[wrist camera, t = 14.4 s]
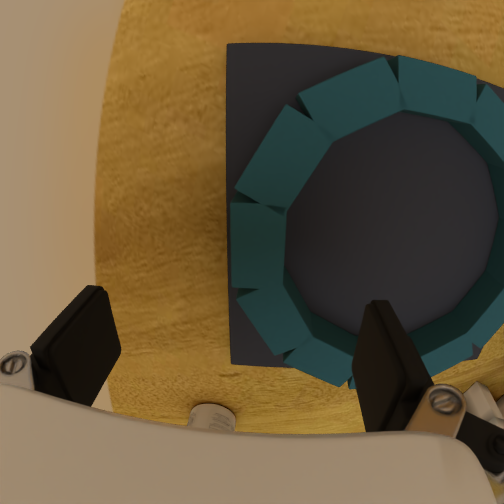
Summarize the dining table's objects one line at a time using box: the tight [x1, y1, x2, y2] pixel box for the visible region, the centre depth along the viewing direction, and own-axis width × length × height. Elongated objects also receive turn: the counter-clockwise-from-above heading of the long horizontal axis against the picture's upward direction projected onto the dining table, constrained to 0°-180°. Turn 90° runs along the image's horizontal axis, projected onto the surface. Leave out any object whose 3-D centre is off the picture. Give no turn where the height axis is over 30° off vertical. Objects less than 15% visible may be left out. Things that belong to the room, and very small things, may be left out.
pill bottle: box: [187, 404, 236, 431], centre depth 24 cm, size 4×4×8 cm
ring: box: [230, 55, 504, 389], centre depth 17 cm, size 21×21×3 cm
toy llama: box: [463, 381, 504, 429], centre depth 17 cm, size 8×18×20 cm, turn 61°
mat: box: [226, 43, 504, 368], centre depth 19 cm, size 22×22×1 cm
